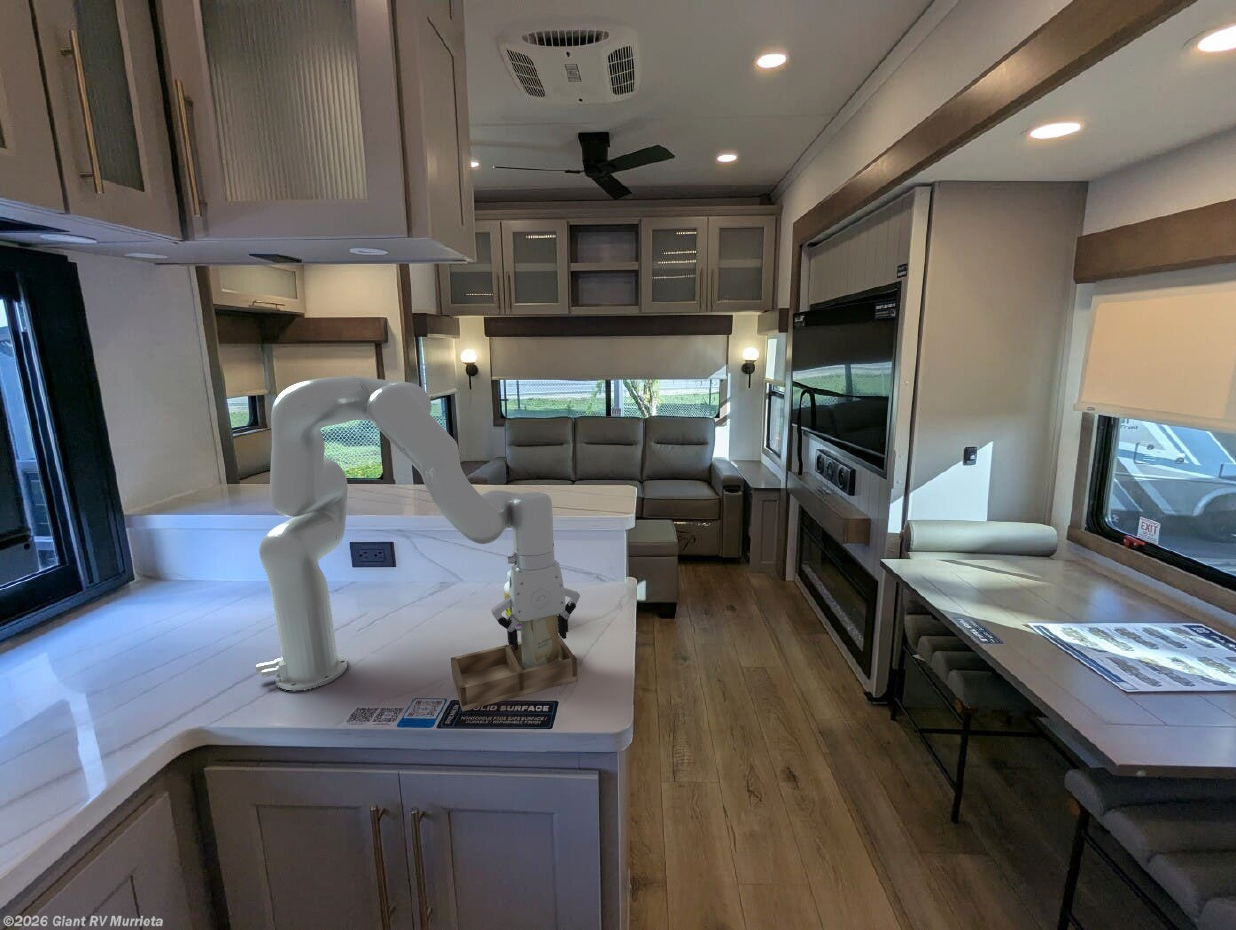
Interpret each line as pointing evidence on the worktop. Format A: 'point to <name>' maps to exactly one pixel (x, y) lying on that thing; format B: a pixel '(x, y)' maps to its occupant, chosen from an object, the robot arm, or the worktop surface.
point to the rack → (507, 675)
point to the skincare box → (539, 642)
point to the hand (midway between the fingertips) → (538, 641)
